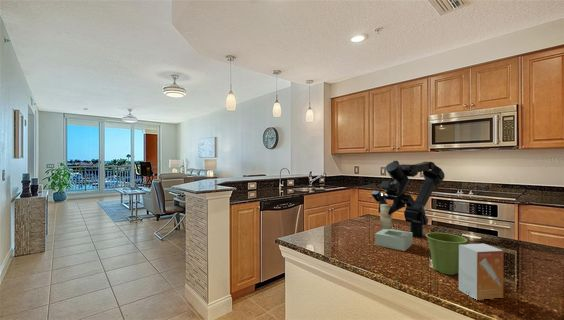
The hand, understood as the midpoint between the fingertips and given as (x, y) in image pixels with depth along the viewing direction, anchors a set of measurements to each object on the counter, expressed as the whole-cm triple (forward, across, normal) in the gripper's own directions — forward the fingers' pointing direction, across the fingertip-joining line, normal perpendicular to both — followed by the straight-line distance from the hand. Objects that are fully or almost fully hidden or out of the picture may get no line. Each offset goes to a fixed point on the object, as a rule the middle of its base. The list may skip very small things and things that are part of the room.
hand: (383, 213), depth 115 cm
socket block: (+7, +2, +12) cm, 14 cm away
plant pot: (+14, +28, +5) cm, 32 cm away
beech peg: (+4, 0, +6) cm, 7 cm away
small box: (+20, +41, -1) cm, 46 cm away
